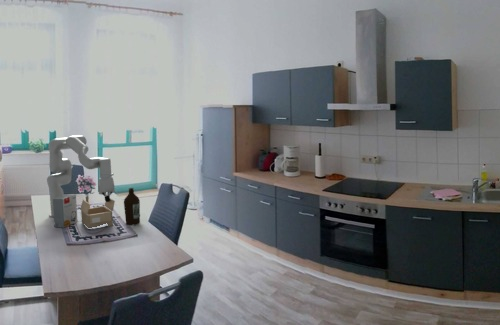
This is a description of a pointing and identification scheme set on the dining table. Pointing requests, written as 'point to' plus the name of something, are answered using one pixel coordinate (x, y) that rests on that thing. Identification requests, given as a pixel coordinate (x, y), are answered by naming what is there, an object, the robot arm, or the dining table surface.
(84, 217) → the carton
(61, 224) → the hard drive box
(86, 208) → the flap
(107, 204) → the flap
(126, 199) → the olive oil
